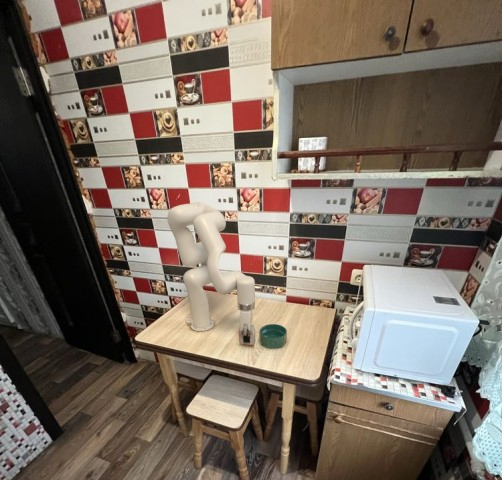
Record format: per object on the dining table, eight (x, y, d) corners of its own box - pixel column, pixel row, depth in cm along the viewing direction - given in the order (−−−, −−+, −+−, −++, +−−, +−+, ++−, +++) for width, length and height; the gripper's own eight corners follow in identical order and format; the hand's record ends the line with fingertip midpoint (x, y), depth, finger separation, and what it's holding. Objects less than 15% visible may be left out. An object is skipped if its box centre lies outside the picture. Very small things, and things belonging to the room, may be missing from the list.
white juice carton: (241, 339, 133) (240, 321, 127) (255, 340, 132) (254, 323, 126) (239, 343, 130) (238, 325, 124) (253, 345, 129) (253, 327, 123)
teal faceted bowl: (262, 350, 129) (262, 340, 125) (257, 335, 139) (257, 325, 136) (289, 347, 130) (290, 336, 127) (282, 332, 141) (282, 322, 138)
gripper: (239, 295, 127) (241, 329, 137) (235, 314, 113) (237, 349, 123) (256, 296, 126) (256, 329, 137) (253, 314, 112) (253, 350, 123)
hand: (247, 338), depth 130 cm, fingers closed on white juice carton, 4 cm apart
